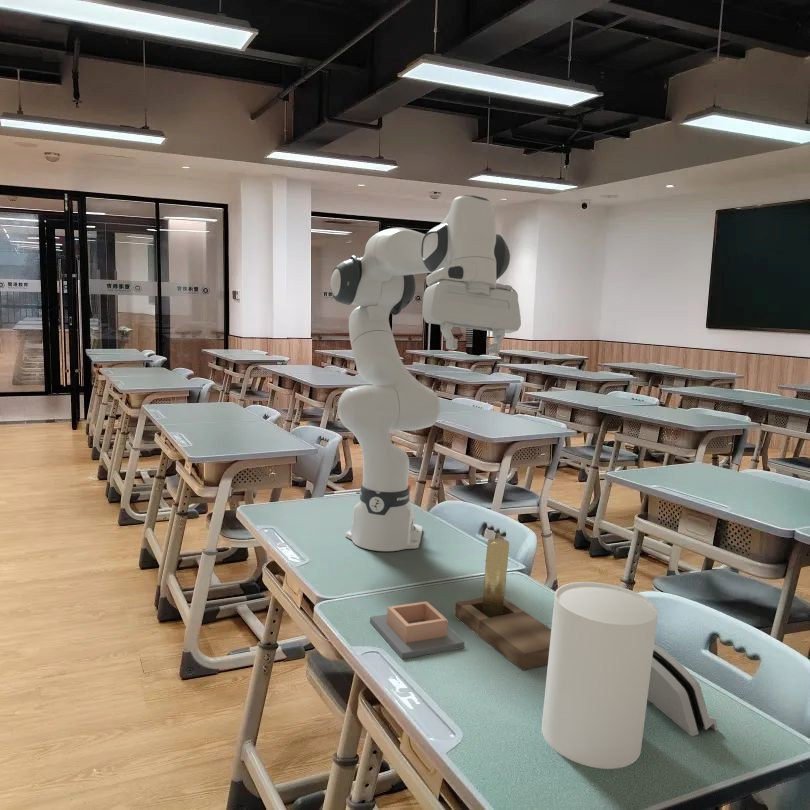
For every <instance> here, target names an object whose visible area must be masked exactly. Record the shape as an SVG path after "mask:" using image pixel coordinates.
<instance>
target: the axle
mask: <svg viewBox="0 0 810 810" xmlns="http://www.w3.org/2000/svg"><path fill="white" fill-rule="evenodd" d="M509 551H510V542H509V541H508V540H506V539H504V538H503V539H501V538H490V539H487V543H486V555H485V556H486V557H485V567H484V568H485V569H484V578H483V579H484V580H483V591H482V597H483V601H482V613H483V614H484V615H485V616H487V617H488V618H491V617H496V616H501V615H503V609H504V598H505V595H506V585H507V584H506V583H507V573H508V572H507V571H508V562H509V554H510V552H509ZM505 599H506V598H505Z"/></svg>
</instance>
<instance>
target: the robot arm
mask: <svg viewBox="0 0 810 810" xmlns="http://www.w3.org/2000/svg"><path fill="white" fill-rule="evenodd" d="M449 208H450V209H449V212H448V213H447V215H446V216H445V218H444V219H443V220H442V221H441V223H440V224H438V225H436V226H434V227H432V228H431V229H430V230H429V231H427V232H426V233H422V232H419V231H416V230H413V229H409V228H405V227H391V228H387V229H383V230H381V231H379V232H377V233H374V235H372V236H371V237H370V238H369V239H368V241H367V242H366V244H365V247H364V254H363V256H361V257H356V255H351V256H350V257H349V258H348V259H347V260H344V261H342V262H340V263H339V264H337V266H335V267H334V268H333V270H332V272H331V273H332V274H331V278H330V292H331V295H332V298H333V299H334V300H335V302H337V303H339V304H342V305H348V306H350V305H353V306H357V307H356V308H354V309H353V310H352V311H351V313H350V314H349V317H348V333H349V341H350V346H351V351H352V355H353V360H354V363H355V367H356V371H357V373H358V375H359V377H360V378H361V379H362V380H363V381H365V382H366V383H368V385H367V384H366V385H359V386H354V387H349V388H347V389H345V390H344V391H343V392H342V393H341V395H340V397H339V399H338V402H337V416H338V418H339V420H340V423H341V424H342V425H343V426H344V427H345V428H346V429H347V430H349V432H351V433H352V434H353V436H355V438H356V440H357V443H359V446H360V449H361V453H362V468H363V469H362V484H360V489H359V500H360V501H359V502H358V503H356V505H354V507H353V514H352V515H353V516H352V522H351V523H352V524H351V529H349V530H347V531H346V533H345V537H346V538H348V539H349V540H352V542H353V544H354V545H356V546H358V547H359V548H362V549H366V550H370V551H376V552H395V551H397V552H398V551H402V550H407V549H408V550H412V549H414V550H415V549H418V548H419V547H420V543H421V539H422V534H423V526H422V525H421V524H420V525H419V524H417V523H415V521H416V520H415V519H416V510H415V508H414V506H413V505H412V504H411V503H410V497H411V493H410V492H411V487H412V484H411V483H409V471H410V459H409V455H408V454H407V452H406V451H405V450H404V449H403V448H401V447H399V446H398V445H396V444H394V443H392V441H391V436H390V435H391V434H390V433H391V432H393V431H394V432H395V431H396V432H397V431H398V432H400V431H405V432H406V431H417V430H423V429H426V428H430V427H433V426H434V425H435V424H436V422H438V418H439V417H440V413H441V403H440V400H439V397H438V395H437V394H436V392H435V391H434V390H433V389H432V388H430V387H428V386H425V385H424V384H422V382H420V381H419V380H418V379H417V378H415V377H414V376H413V374H411V372H410V371H409V370H408V369H407V368H406V366H405V364H404V363H403V361H402V359H401V356H400V353H399V350H398V348H397V344H396V341H395V337H394V334H393V331H392V328H391V326H390V325H391V324H390V319H389V318H390V314H391V315H393V316H397V315H399V314H400V313H401V311H403V309H405V308H407V306H408V305H409V304H410V303H411V302H412V301H413V299H414V297H415V294H416V278H415V275H419V274H428V275H427V276H426V277H425V283H426V286H427V287H426V289H425V290H424V292H423V296H422V297H423V298H422V308H421V309H422V311H421V313H422V315H421V316H422V318H423V320H424V322H425V323H427V324H433V325H439V327H440V332H441V333H442V334H441V335H442V336H443V339H445V349H447V350H453V351H455V350H457V349H458V348H459V347H458V346H459V345H458V343H459V339H458V338H455V337H454V335H453V333H452V331H451V330H453V329H454V328H453V327H457V328H463V329H472V330H480V331H486V332H487V331H488V332H492V337H493V338H494V339H493V341H492V343H491V344H488V345H487V349H488V351H487V353H488V354H491V355H498V354H499V353H500V352H501V349H500V348H501V343H502V342H503V340H504V338H505V337H506V334H511V333H515V332H518V331H519V329H520V328H521V325H522V319H521V318H522V317H521V309H520V303H519V294H518V292H517V291H516V289H514V288H513V286H512V285H508V284H502V283H497V280H498V279H500V277H502V276H503V275H504V274H505V272H506V271H507V269H508V268H509V265H510V259H511V255H510V249H509V246H508V244H507V242H506V241H505V239H504V238H503V236H502V235H500V234H499V233H497V226H496V225H497V224H496V216H495V210H494V206H493V203H492V201H491V200H489V199H488V198H485V197H483V196H477V195H474V194H473V195H471V194H470V195H468V194H465V195H459V196H457V197H454V199H453V200H452V201H451V204H450V207H449Z"/></svg>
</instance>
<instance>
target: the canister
mask: <svg viewBox="0 0 810 810" xmlns="http://www.w3.org/2000/svg"><path fill="white" fill-rule="evenodd" d="M658 613H659V610H658V608H657V606H656V604H655V603H654V602H653V601H651V599H649V598H647V597H646V596H644V595H642V594H640V593H638V592H636V591H633V590H631V589H628V588H625V587H623V586H622V587H621V586H619V585H614V584H609V583H603V582H597V581H596V582H593V581H577V582H576V581H575V582H570V583H567V584H562V585H561V586H559V587H558V588H557V589H556V590H555V592H554V599H553V611H552V619H551V620H552V621H551V628H550V629H551V638H550V648H549V658H548V665H547V669H546V671H547V672H546V679H545V680H546V682H545V690H544V699H543V710H542V720H541V733H542V735H543V738H544V741H546V743H547V744H548V745H549V746H550V747H551V748H552V749H553V750H554V751H555V752H557V753H558V754H559V755H561V756H562V757H564V758H565V759H568V760H569V761H571V762H575V763H577V764H579V765H581V766H582V765H583V766H586V767H590V768H594V769H604V770H606V769H607V770H612V769H613V770H615V769H621V768H625V767H628V766H630V765H632V764H634V762H637V760H638V759H639V758H640V755H641V752H642V744H643V736H644V730H645V729H644V728H645V722H646V721H645V720H646V714H647V713H646V712H647V704H648V699H647V697H648V689H649V681H650V673H651V665H652V657H653V649H654V644H655V640H656V632H657V623H658V616H659V614H658Z"/></svg>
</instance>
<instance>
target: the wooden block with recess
mask: <svg viewBox="0 0 810 810" xmlns="http://www.w3.org/2000/svg"><path fill="white" fill-rule="evenodd" d="M482 601H483V596H481V597H476V598H471V599H464V600H459V601H455V606H454V607H455V608H454V609H455V610H454V617H455V618H456V619H457V620H458V619H459V620H458V621H460V622H461V623H462V622H463V623H464V624H463V623H462V624H463V625H465V626H466V627H467V628H468V627H469V628H468V629H470V630H471V631H472V632H473V631H474V632H473V633H475V634H476V635H477V634H478V635H477V636H479V637H480V638H481V639H482V640H483V641H485V642H486V643H487V644H488V645H489V646H491V647H493V648H494V649H495V651H497V652H498V653H500V654H502V655H503V657H505V659H506V658H507V660H509V661H510V662H511V663H513V664H514V665H515V666H517V667H518V668H519V669H520V670H521V671H527V670H531V669H535V668H539V667H543V666H548V658H549V648H550V638H551V628H550V627H548V626H547V625H545V624H544V623H542V622H541V621H539V620H538V619H536V618H535V617H533V616H532V615H530V614H529V613H528V612H526V611H524V609H521V608H520V607H518V606H517V605H515V604H514V603H512V602H511V601H509V600H508V599H506V598H504V609H503V615H501V616H496V617H491V618H488V617H487V616H485V615H484V614H483V613H482Z"/></svg>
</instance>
